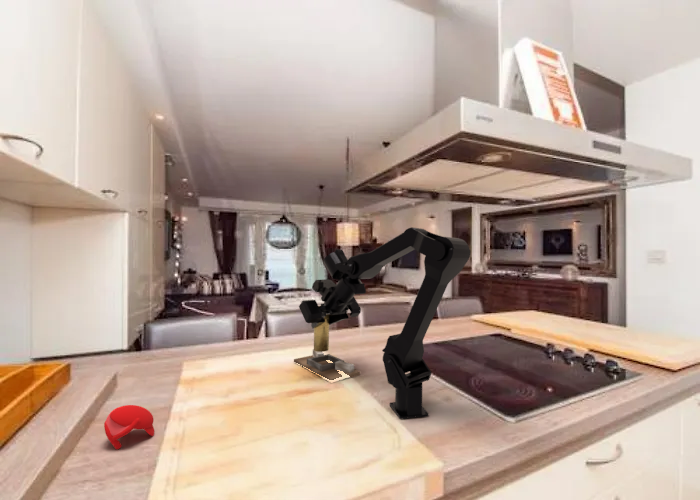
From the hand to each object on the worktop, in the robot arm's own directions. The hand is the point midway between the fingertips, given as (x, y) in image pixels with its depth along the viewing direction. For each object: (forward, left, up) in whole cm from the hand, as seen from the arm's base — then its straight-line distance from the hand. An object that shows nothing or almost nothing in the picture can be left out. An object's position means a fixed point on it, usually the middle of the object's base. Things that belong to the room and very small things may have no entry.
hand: (318, 326), depth 93 cm
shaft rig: (-1, -2, -12) cm, 13 cm away
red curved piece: (-30, +37, -13) cm, 49 cm away
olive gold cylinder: (-1, -1, -7) cm, 7 cm away
